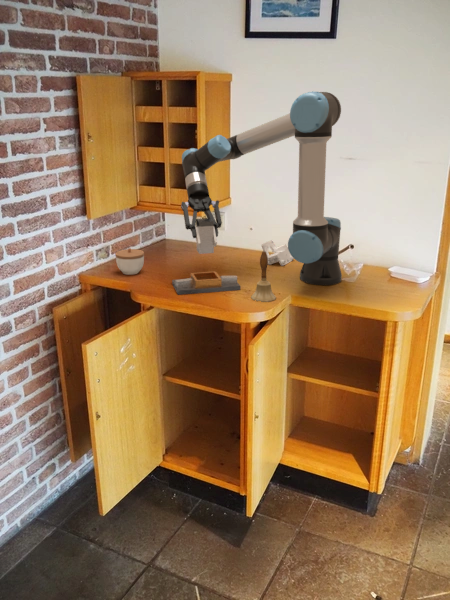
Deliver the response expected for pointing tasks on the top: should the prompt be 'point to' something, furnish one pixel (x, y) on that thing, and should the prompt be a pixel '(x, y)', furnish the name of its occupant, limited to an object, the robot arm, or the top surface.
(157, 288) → the top surface
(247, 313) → the top surface
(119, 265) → the lidded jar
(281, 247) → the mounting bracket
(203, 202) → the robot arm
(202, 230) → the block
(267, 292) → the hand bell
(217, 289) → the base
